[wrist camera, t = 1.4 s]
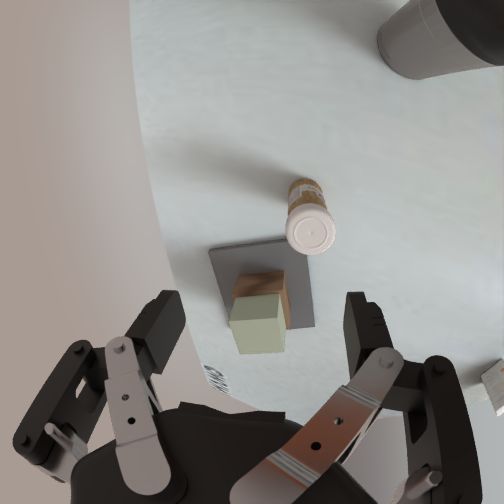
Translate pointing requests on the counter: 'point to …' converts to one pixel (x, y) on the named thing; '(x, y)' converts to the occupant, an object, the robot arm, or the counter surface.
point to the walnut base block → (264, 289)
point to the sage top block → (258, 324)
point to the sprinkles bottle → (308, 219)
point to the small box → (495, 386)
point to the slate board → (262, 261)
